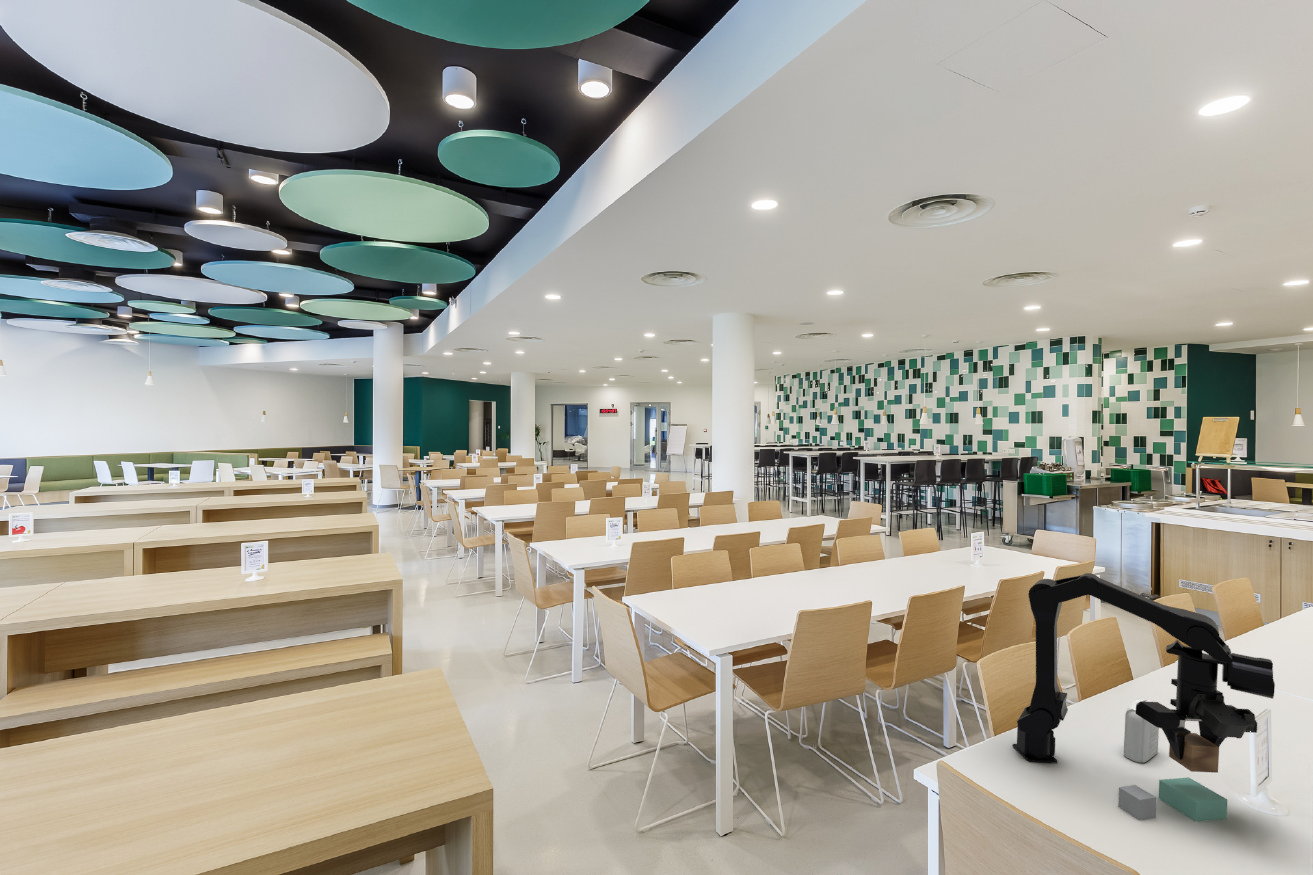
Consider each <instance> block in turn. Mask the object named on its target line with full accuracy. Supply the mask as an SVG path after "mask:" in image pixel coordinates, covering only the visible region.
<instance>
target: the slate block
mask: <svg viewBox="0 0 1313 875" xmlns="http://www.w3.org/2000/svg"><path fill="white" fill-rule="evenodd" d="M1117 805H1118V806H1117V807H1118V808H1119V807H1120V809H1121V810H1122V809H1123V810H1122V811H1124V812H1125V813H1127V814H1129V815H1131V816H1132V817H1133V818H1135V819H1137V820H1138V821H1145V820H1149V819H1156V817H1157V796H1156V795H1153V794H1152V793H1150V792H1148V791H1147V790H1144V789H1143V788H1142V787H1139V785H1136V784H1130V785H1123V786H1119V787H1118V804H1117Z"/></svg>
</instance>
